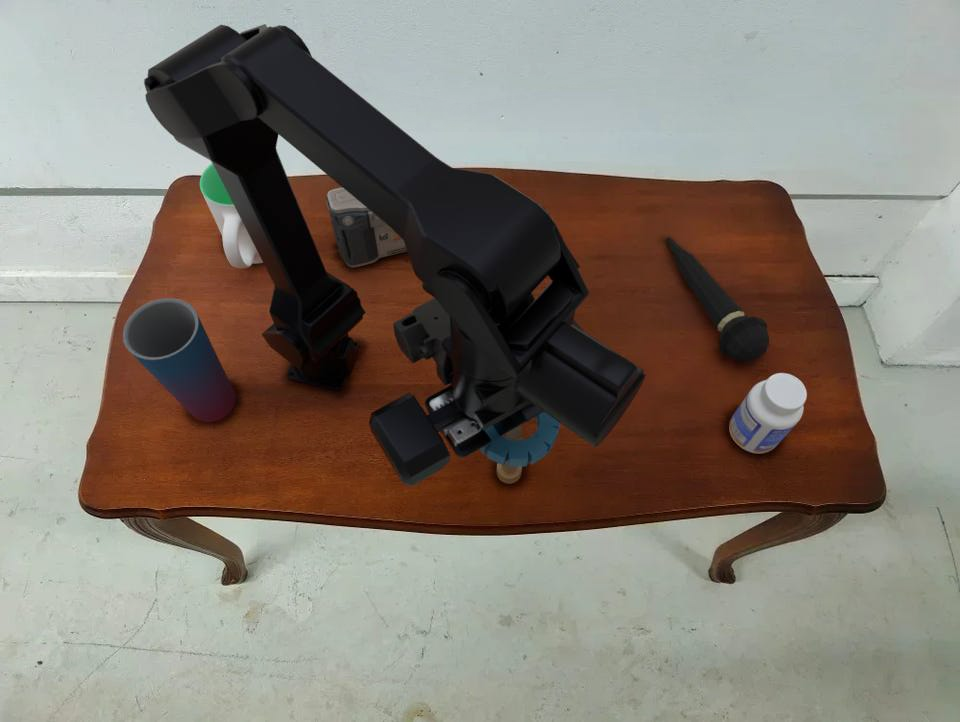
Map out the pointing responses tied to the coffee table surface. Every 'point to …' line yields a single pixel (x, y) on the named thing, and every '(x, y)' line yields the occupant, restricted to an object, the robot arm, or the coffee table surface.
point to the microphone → (723, 311)
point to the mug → (228, 221)
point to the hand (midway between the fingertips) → (487, 437)
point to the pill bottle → (768, 413)
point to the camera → (360, 231)
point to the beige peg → (506, 472)
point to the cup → (180, 357)
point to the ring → (523, 444)
